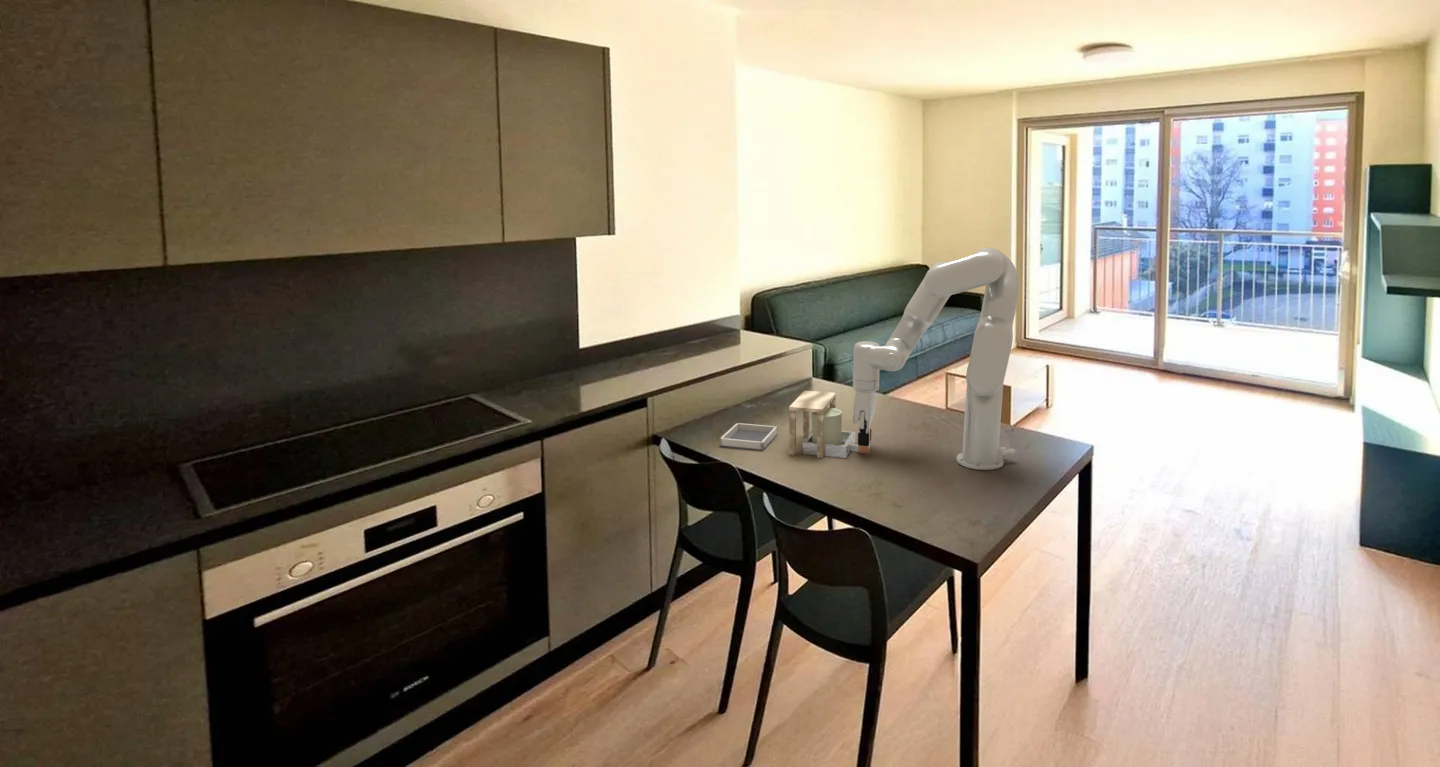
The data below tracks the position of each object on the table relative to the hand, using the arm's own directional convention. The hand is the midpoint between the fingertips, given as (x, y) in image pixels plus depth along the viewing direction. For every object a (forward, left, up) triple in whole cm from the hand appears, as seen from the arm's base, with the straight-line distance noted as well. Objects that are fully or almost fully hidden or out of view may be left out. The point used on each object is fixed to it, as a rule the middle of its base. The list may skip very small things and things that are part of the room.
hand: (864, 442), depth 221 cm
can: (+10, -5, -3) cm, 12 cm away
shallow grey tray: (+7, -4, -3) cm, 8 cm away
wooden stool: (+14, -7, -3) cm, 16 cm away
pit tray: (+32, -16, -3) cm, 36 cm away
